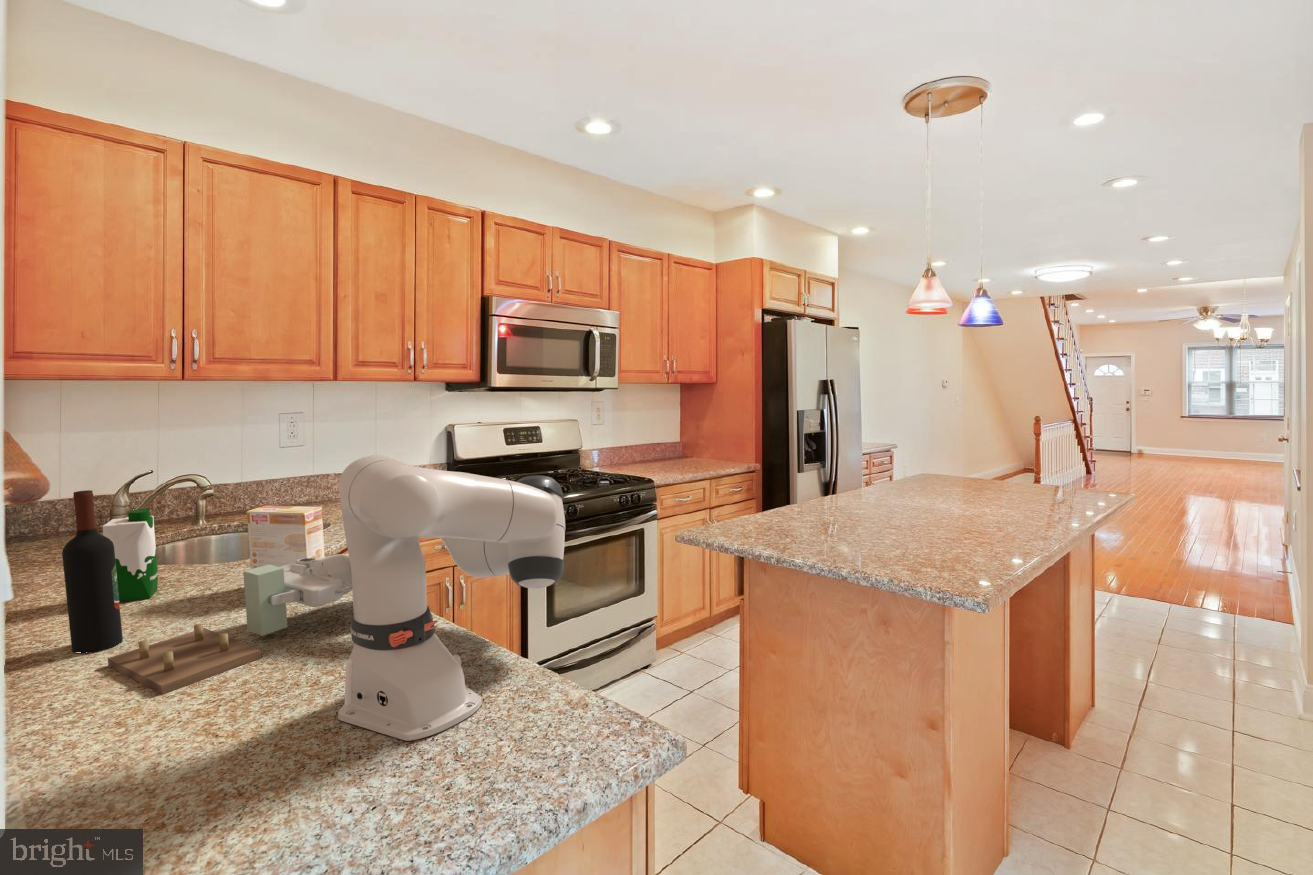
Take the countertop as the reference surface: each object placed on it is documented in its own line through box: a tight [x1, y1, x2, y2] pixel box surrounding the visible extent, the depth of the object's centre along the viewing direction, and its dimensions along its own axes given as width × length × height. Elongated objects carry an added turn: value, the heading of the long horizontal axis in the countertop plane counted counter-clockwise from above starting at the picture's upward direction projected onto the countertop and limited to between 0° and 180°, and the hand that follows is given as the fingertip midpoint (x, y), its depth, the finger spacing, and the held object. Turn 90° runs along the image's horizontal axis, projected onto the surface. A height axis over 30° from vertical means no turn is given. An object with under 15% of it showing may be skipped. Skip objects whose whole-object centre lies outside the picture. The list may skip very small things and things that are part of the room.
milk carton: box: [102, 508, 159, 603], centre depth 156 cm, size 9×9×20 cm
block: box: [242, 565, 288, 637], centre depth 133 cm, size 5×5×12 cm
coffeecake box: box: [246, 505, 326, 569], centre depth 162 cm, size 15×7×20 cm, turn 82°
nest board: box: [107, 623, 262, 695], centre depth 123 cm, size 20×16×4 cm
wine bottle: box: [61, 489, 124, 654], centre depth 128 cm, size 8×8×30 cm
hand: (260, 597), depth 132 cm, fingers closed on block, 5 cm apart
